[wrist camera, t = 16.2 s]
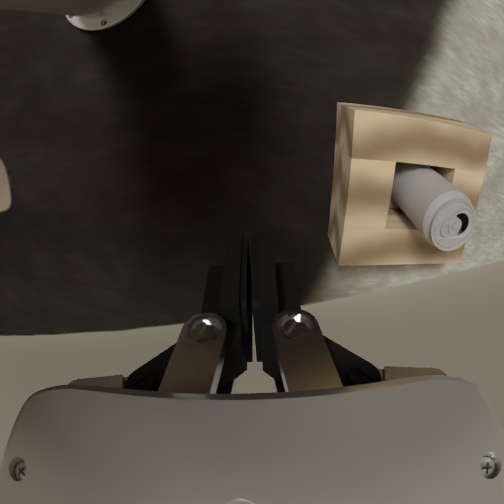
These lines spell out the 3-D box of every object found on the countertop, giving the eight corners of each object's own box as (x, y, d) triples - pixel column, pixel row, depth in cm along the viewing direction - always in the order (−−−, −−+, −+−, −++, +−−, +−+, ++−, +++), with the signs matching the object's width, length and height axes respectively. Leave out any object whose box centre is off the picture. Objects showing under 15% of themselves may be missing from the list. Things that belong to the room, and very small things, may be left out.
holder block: (337, 102, 32) (354, 109, 26) (460, 121, 31) (491, 134, 25) (327, 235, 42) (338, 265, 36) (437, 235, 41) (458, 262, 35)
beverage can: (431, 196, 35) (479, 243, 25) (390, 209, 37) (430, 262, 27) (425, 151, 32) (479, 189, 22) (381, 164, 34) (426, 207, 24)
